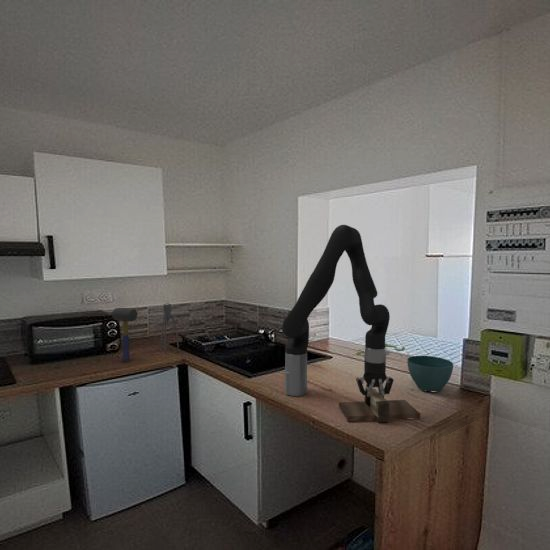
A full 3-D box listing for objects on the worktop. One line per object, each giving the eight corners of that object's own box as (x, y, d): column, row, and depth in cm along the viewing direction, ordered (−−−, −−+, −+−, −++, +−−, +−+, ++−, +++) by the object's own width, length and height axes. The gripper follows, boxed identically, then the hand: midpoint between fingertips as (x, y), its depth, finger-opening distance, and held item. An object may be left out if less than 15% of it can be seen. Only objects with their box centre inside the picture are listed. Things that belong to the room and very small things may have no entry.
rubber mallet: (139, 360, 200) (138, 307, 199) (130, 364, 193) (128, 309, 192) (122, 358, 205) (120, 306, 203) (112, 361, 198) (110, 308, 196)
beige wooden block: (377, 422, 123) (378, 403, 122) (363, 405, 137) (363, 388, 136) (389, 421, 123) (389, 403, 123) (373, 404, 137) (374, 388, 137)
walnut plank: (348, 422, 124) (348, 416, 124) (339, 407, 136) (339, 402, 136) (419, 418, 126) (419, 413, 126) (404, 404, 138) (404, 399, 138)
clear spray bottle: (161, 349, 223) (160, 302, 221) (178, 350, 222) (178, 302, 221) (155, 354, 213) (154, 304, 211) (173, 354, 212) (172, 304, 211)
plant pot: (415, 378, 167) (416, 353, 167) (457, 388, 155) (458, 360, 155) (400, 389, 154) (400, 361, 153) (445, 400, 142) (446, 370, 141)
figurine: (409, 356, 207) (409, 346, 206) (373, 362, 196) (373, 352, 195) (387, 348, 223) (387, 340, 223) (352, 353, 212) (352, 344, 212)
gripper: (359, 363, 126) (359, 410, 127) (398, 361, 127) (397, 408, 128) (352, 357, 133) (352, 402, 134) (389, 355, 135) (388, 400, 135)
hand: (374, 405), depth 131 cm, fingers closed on beige wooden block, 4 cm apart
